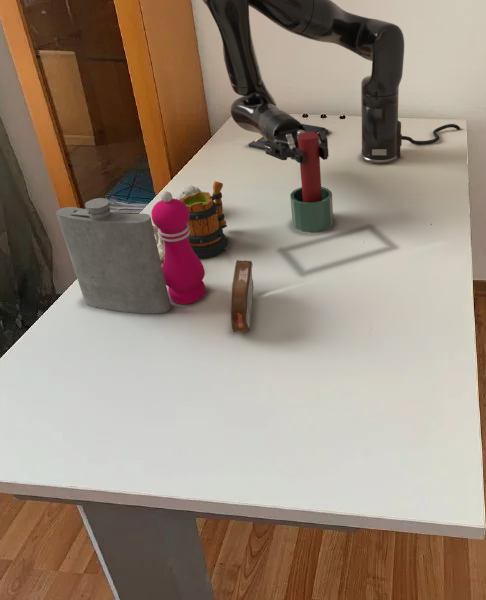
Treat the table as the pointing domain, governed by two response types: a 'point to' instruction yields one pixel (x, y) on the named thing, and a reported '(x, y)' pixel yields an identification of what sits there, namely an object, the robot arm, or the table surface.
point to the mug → (206, 222)
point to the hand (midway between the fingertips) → (315, 157)
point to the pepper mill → (178, 251)
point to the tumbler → (312, 212)
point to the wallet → (260, 144)
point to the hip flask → (115, 258)
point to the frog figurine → (187, 191)
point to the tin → (242, 296)
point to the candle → (310, 167)
